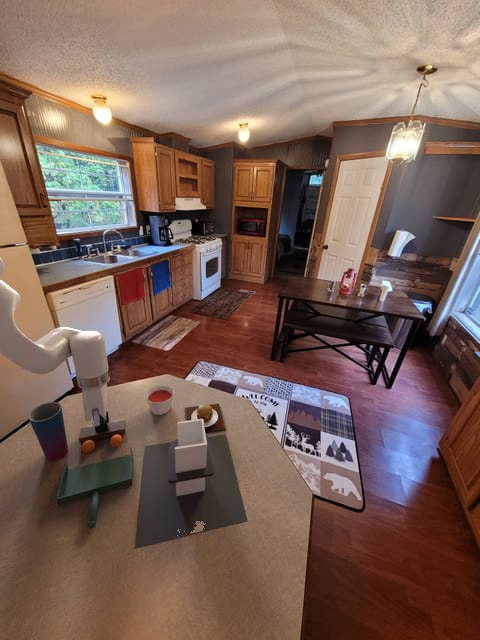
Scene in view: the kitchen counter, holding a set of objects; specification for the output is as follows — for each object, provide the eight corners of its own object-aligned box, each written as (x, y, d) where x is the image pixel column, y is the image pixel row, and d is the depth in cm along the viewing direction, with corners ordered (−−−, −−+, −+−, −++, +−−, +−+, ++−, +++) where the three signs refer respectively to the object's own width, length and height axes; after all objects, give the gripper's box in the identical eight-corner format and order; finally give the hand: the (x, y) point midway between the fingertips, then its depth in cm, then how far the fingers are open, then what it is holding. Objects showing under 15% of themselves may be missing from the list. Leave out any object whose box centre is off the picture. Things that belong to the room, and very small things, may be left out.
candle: (142, 407, 88) (140, 393, 85) (164, 395, 94) (163, 381, 92) (157, 421, 83) (156, 406, 80) (179, 407, 89) (179, 393, 87)
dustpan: (67, 470, 66) (65, 463, 65) (132, 454, 71) (131, 447, 70) (48, 546, 51) (45, 538, 50) (132, 518, 57) (131, 511, 56)
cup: (37, 466, 66) (22, 423, 60) (47, 445, 72) (35, 403, 66) (67, 461, 68) (55, 419, 62) (75, 441, 74) (65, 400, 68)
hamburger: (218, 404, 92) (219, 392, 90) (225, 430, 82) (226, 417, 80) (185, 408, 89) (185, 396, 87) (188, 435, 79) (188, 422, 76)
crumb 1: (80, 443, 72) (79, 455, 70) (84, 438, 70) (83, 450, 68) (93, 442, 74) (92, 453, 72) (96, 437, 72) (96, 449, 70)
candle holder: (144, 446, 74) (140, 402, 68) (225, 434, 80) (229, 392, 74) (134, 548, 52) (126, 497, 46) (247, 520, 58) (254, 472, 52)
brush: (82, 434, 76) (77, 412, 72) (126, 425, 80) (123, 404, 77) (79, 445, 72) (74, 422, 69) (125, 435, 77) (122, 413, 73)
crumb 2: (108, 437, 74) (108, 449, 72) (112, 433, 72) (112, 445, 70) (119, 436, 76) (120, 447, 74) (123, 432, 74) (124, 443, 73)
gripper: (82, 361, 73) (92, 410, 80) (71, 398, 60) (83, 453, 67) (111, 358, 76) (118, 406, 83) (106, 393, 62) (115, 446, 69)
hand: (102, 426), depth 75 cm, fingers closed on brush, 2 cm apart
